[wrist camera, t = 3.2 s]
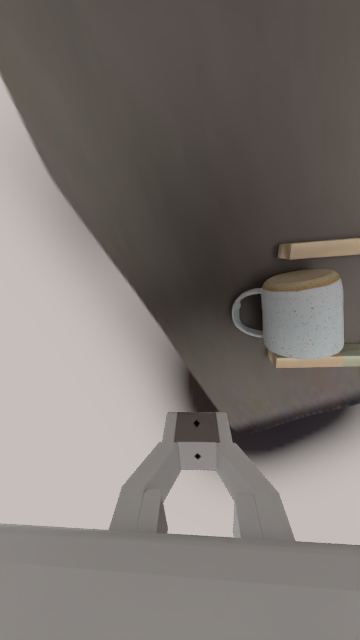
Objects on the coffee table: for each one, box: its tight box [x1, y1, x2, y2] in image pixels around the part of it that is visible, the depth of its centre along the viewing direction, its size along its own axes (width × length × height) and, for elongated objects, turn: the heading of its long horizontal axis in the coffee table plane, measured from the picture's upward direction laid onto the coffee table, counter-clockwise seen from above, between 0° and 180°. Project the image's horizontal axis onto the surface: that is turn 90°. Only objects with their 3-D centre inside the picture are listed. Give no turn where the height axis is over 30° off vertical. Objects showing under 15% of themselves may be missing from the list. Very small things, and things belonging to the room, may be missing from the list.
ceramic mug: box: [232, 269, 344, 360], centre depth 21 cm, size 11×8×8 cm
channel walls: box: [267, 237, 360, 368], centre depth 22 cm, size 15×14×3 cm
